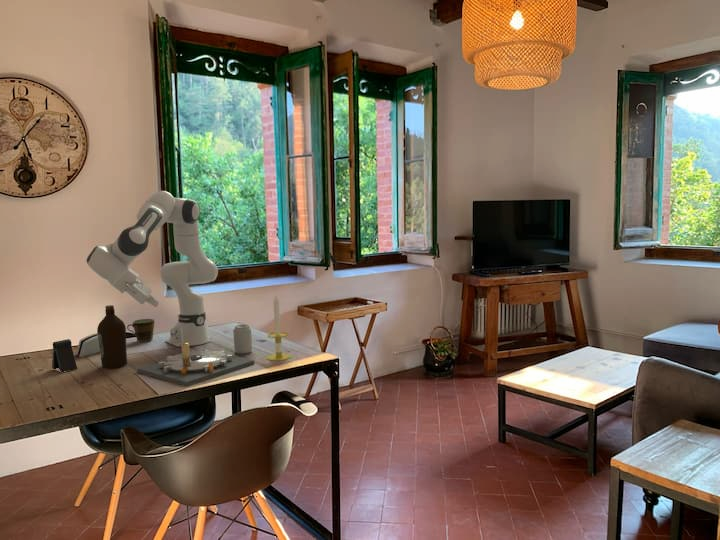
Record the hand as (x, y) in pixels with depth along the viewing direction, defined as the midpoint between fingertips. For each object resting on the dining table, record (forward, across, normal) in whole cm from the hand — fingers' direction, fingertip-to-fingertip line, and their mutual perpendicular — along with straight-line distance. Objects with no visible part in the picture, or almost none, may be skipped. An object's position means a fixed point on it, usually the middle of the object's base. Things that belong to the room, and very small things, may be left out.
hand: (157, 305), depth 206 cm
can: (+43, +22, -4) cm, 48 cm away
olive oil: (+6, +23, +33) cm, 41 cm away
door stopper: (-8, +26, +47) cm, 54 cm away
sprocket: (+27, +6, +9) cm, 29 cm away
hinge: (-2, +51, +41) cm, 66 cm away
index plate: (+28, +6, +10) cm, 31 cm away
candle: (+52, +7, -13) cm, 54 cm away
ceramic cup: (+11, +64, +28) cm, 71 cm away
